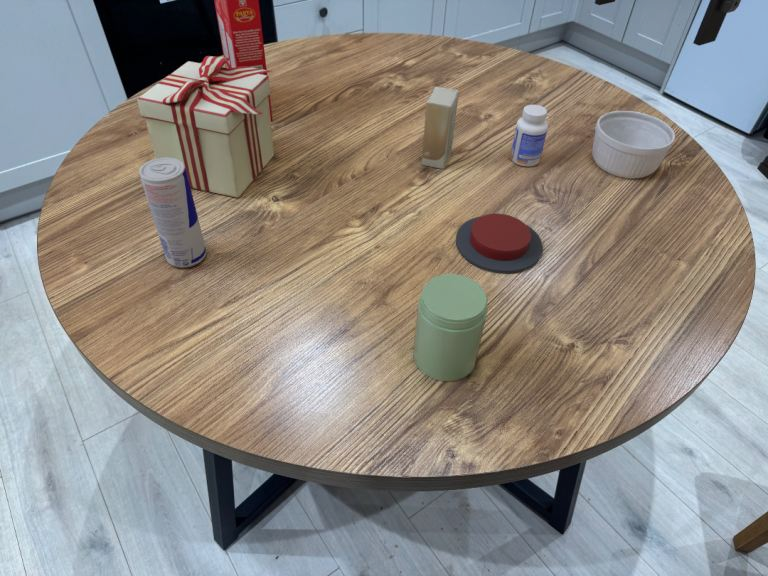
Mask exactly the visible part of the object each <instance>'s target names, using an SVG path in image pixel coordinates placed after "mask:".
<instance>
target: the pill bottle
mask: <svg viewBox="0 0 768 576" xmlns="http://www.w3.org/2000/svg"><path fill="white" fill-rule="evenodd" d="M521 114H522V117H520V118H518V120H517V122H516V125H515V130H514V134H513V140H512V145H511V150H510V160H511V161H512V162H513V163H515V165H517V166H519V167H527V168H528V167H534V166H536V165H538V164H539V163H540V162H541V159H542V153H543V150H544V145H545V143H546V138H547V135H548V130H549V129H548V128H549V125H548V122H547V121H546V119H547V115H548V109H547V108H546V107H544V106H543V105H539V104H527V105H525V106H524V107H523V110H522V113H521Z"/></svg>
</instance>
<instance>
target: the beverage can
mask: <svg viewBox="0 0 768 576" xmlns="http://www.w3.org/2000/svg"><path fill="white" fill-rule="evenodd" d="M138 174H139V177H140V182H141V184H142V188H143V192H144V194H145V198H146V200H147V203H148V206H149V210H150V212H151V216H152V220H153V222H154V225H155V229H156V231H157V233H158V237H159V240H160V244H161V247H162V250H163V253H164V256H165V260H166V262H167V263H168V264H169V265H171V266H173V267H176V268H182V269H183V268H190V267H194V266H196V265H197V264H199V263H201V262H202V261H203V260H204V259H205V257H206V256H207V248H206V244H205V240H204V235H203V231H202V228H201V223H200V220H199V216H198V212H197V208H196V204H195V201H194V196H193V193H192V188H191V187H190V184H189V180H188V176H187V172H186V169H185V166H184V164H183V162H181V161H180V160H178V159H175V158H157V159H156V158H153V159H151V160H148V161H146V162H144V163H143V164H142V165H141V166H140V168H139V169H138Z"/></svg>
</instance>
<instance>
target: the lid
mask: <svg viewBox="0 0 768 576" xmlns="http://www.w3.org/2000/svg"><path fill="white" fill-rule="evenodd" d="M480 216H481V217H480ZM480 216H478V217H479V218H478V219H476V220H475V221H474V223H473V225H472V228H471V234H470V242H471V245H472V246H473V248H474V249H475V250H476V251H477V252H478V253H480V254H481V255H483V256H485V257H487V258H490V259H494V260H501V261H508V260H514V259H517V258H520V257H521V256H523V255H524V254H525V253H526V252H527V250H528V247H529V243H530V240H531V232H530V230H529V228H528V227H527V225H528V224H527V223H525V222H524V221H522V220H520V219H519V218H517V217H515V216H512V215H509V214H504V213H488V214H485V215H480Z"/></svg>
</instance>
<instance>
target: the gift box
mask: <svg viewBox="0 0 768 576" xmlns="http://www.w3.org/2000/svg"><path fill="white" fill-rule="evenodd" d="M229 60H230V58H227V57H224V56H211V55H206V56H205V57H203V60H202V61H201V63H199V62H195V61H190V60H188V61H186V62H185V63H184V64H182V65H181V66H179V67H178V68H177V69H176V70H174V71H173V72H171V73H170V74H168V75H167V76H165V77H164V78H163V79H162V80H160V81H158V82H157V83H156V84H155V85H154V86H152V87H150V89H148V90H147V91H146V92H144V93H143V94H141V95H140V96H139V97H138V98H137V100H136V101H137V104H138V109H139V112H140V117H141V118H144V119H145V123H146V127H147V130H148V135H149V138H150V142H151V147H152V149H153V154H154V159H157V158H175V159H178V160H180V161H181V162H183V164H184V166H185V169H186V172H187V176H188V180H189V184H190V188H191V189H196V190H199V191H204V192H208V193H209V192H210V193H214V194H220V195H222V196H223V195H224V196H227V197H232V198H237V199H238V198H240V197H241V196H242V195H243V194H244V192H245V191H246V190H247V189H248V188H249V186H251V184H252V183H253V182H254V181H255V180H256V179H257V177H258V176H259V174H260V173H262V172H263V170H264V168H265V167H266V166H267V165H268V164H269V163H270V161H271V160H272V159H273V158H274V156H275V150H274V149H275V148H274V139H273V130H272V129H273V128H272V121H271V118H270V109H269V99H268V96H269V95H270V96H271V84H270V77H269V76H268V75H267V76H266V75H261V74H264V73H267V74H268V73H271V72H272V70H271V69H270V70H269V69H267V70H262V69H258V68H253V67H249V66H245V67H234V68H226V67H224V65H225V63H226V61H229Z"/></svg>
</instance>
